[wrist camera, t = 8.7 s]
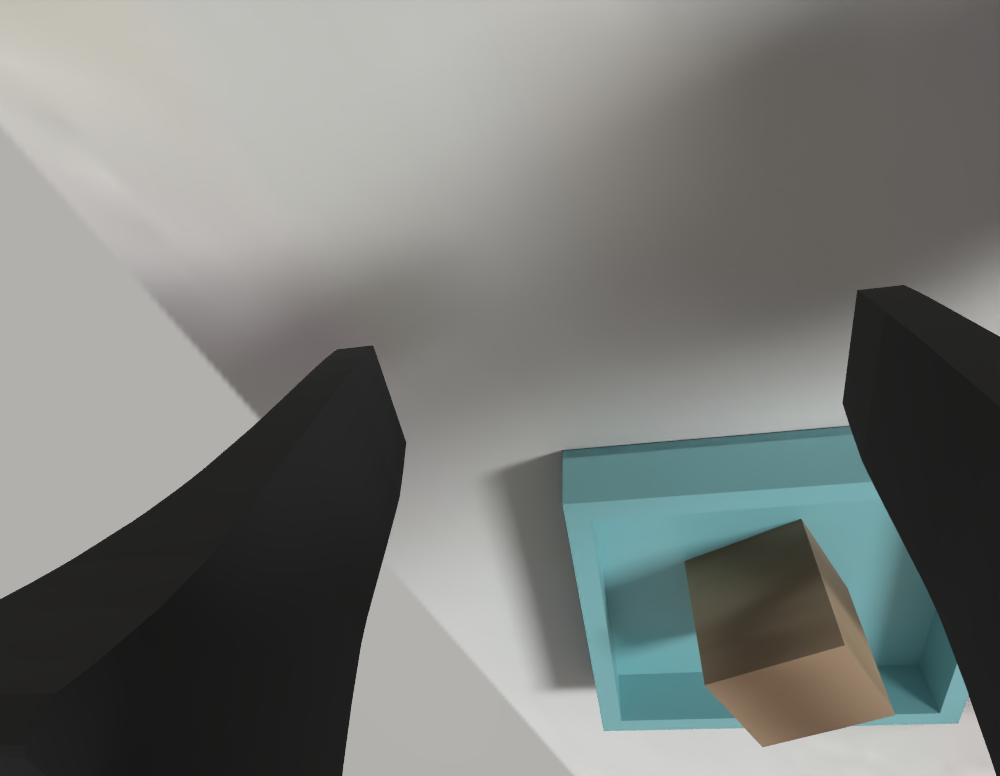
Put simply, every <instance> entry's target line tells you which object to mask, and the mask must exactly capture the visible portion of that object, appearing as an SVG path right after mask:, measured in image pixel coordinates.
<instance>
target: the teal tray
mask: <svg viewBox="0 0 1000 776" xmlns="http://www.w3.org/2000/svg"><path fill="white" fill-rule="evenodd" d="M562 505H563V511H564V516H565V522H566V527H567V533H568V538H569V543H570V549H571V554H572V560H573V565H574V571H575V576H576V582H577V587H578V593H579V598H580V604H581V609H582V615H583V620H584V625H585V631H586V636H587V642H588V647H589V653H590V658H591V664H592V669H593V675H594V680H595V686H596V691H597V697H598V702H599V708H600V713H601V718H602V724H603V729H604V731H628V730H674V729H721V728H744V727H743V726H742V725H741V723H740V722H739V721H738V720H737V719H736V718H735V717H734V716H733V715H732V714H731V713H730V712H729V711H728V710H727V709H726V708H725V706H724V705H723V704H722V703H721V702H720V701H719V700H718V699H717V698H716V697H715V696H714V695H713V694H712V693H711V692H710V691H709V689H708V688H707V687H706V686H705V685H704V679H703V672H702V666H701V660H700V654H699V648H698V642H697V636H696V630H695V624H694V617H693V611H692V605H691V599H690V593H689V587H688V581H687V575H686V569H685V562H684V561H686V560H689V559H692V558H695V557H697V556H700V555H703V554H706V553H708V552H711V551H714V550H717V549H719V548H722V547H725V546H728V545H730V544H733V543H736V542H739V541H741V540H744V539H747V538H750V537H752V536H755V535H758V534H761V533H763V532H766V531H769V530H772V529H774V528H777V527H780V526H783V525H785V524H788V523H791V522H794V521H796V520H799V519H802V520H803V522H804V523H805V525H806V526H807V528H808V529H809V531H810V532H811V534H812V535H813V537H814V538H815V540H816V541H817V543H818V544H819V546H820V547H821V549H822V550H823V552H824V553H825V555H826V556H827V558H828V559H829V561H830V562H831V564H832V565H833V567H834V568H835V570H836V571H837V573H838V574H839V576H840V578H841V579H842V581H843V582H844V584H845V585H846V587H847V588H848V591H849V593H850V596H851V599H852V601H853V604H854V607H855V609H856V612H857V615H858V617H859V620H860V623H861V625H862V628H863V631H864V633H865V636H866V639H867V641H868V644H869V647H870V649H871V652H872V655H873V657H874V660H875V663H876V665H877V668H878V671H879V674H880V676H881V679H882V682H883V684H884V687H885V690H886V692H887V695H888V698H889V700H890V703H891V706H892V708H893V711H894V714H895V716H890V717H886V718H882V719H878V720H874V721H870V722H865V723H861V724H857V725H853V726H862V725H908V724H955V723H958V722H959V720H960V717H961V714H962V712H963V709H964V707H965V704H966V701H967V699H968V696H969V694H968V692H967V689H966V686H965V683H964V680H963V678H962V675H961V672H960V670H959V667H958V665H957V662H956V659H955V657H954V654H953V651H952V649H951V646H950V643H949V641H948V638H947V635H946V633H945V630H944V627H943V625H942V622H941V620H940V617H939V615H938V613H937V611H936V608H935V606H934V604H933V602H932V600H931V597H930V595H929V593H928V591H927V589H926V587H925V585H924V583H923V581H922V579H921V577H920V575H919V573H918V571H917V569H916V567H915V565H914V563H913V561H912V559H911V557H910V555H909V553H908V551H907V550H906V548H905V546H904V544H903V542H902V540H901V538H900V536H899V534H898V532H897V530H896V528H895V526H894V524H893V522H892V520H891V518H890V516H889V514H888V512H887V510H886V509H885V507H884V505H883V503H882V501H881V499H880V497H879V495H878V493H877V491H876V489H875V487H874V485H873V483H872V481H871V479H870V477H869V475H868V473H867V471H866V468H865V466H864V464H863V462H862V460H861V457H860V454H859V451H858V449H857V446H856V443H855V440H854V437H853V434H852V431H851V428H850V426H848V427H836V428H825V429H813V430H801V431H789V432H777V433H766V434H754V435H742V436H730V437H719V438H707V439H695V440H683V441H672V442H660V443H648V444H636V445H625V446H613V447H601V448H589V449H578V450H566V451H563V465H562Z"/></svg>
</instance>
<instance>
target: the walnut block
mask: <svg viewBox="0 0 1000 776" xmlns="http://www.w3.org/2000/svg"><path fill="white" fill-rule="evenodd" d="M684 562H685V569H686V575H687V581H688V587H689V593H690V599H691V605H692V611H693V617H694V624H695V630H696V636H697V642H698V648H699V654H700V660H701V666H702V672H703V679H704V685H705V686H706V687H707V688H708V689H709V691H710V692H711V693H712V694H713V695H714V696H715V697H716V698H717V699H718V700H719V701H720V702H721V703H722V704H723V705H724V706H725V708H726V709H727V710H728V711H729V712H730V713H731V714H732V715H733V716H734V717H735V718H736V719H737V720H738V721H739V722H740V723H741V725H742V726H743V727H744V728H745V729H746V730H747V731H748V732H749V733H750V734H751V735H752V736H753V737H754V738H755V739H756V741H757V742H758V743H759V744H760V745H761V746H762V747H765V746H770V745H774V744H778V743H782V742H786V741H790V740H795V739H799V738H803V737H807V736H811V735H815V734H820V733H824V732H828V731H832V730H836V729H840V728H845V727H849V726H853V725H857V724H861V723H865V722H870V721H874V720H878V719H882V718H886V717H890V716H895V714H894V711H893V708H892V706H891V703H890V700H889V698H888V695H887V692H886V690H885V687H884V684H883V682H882V679H881V676H880V674H879V671H878V668H877V665H876V663H875V660H874V657H873V655H872V652H871V649H870V647H869V644H868V641H867V639H866V636H865V633H864V631H863V628H862V625H861V623H860V620H859V617H858V615H857V612H856V609H855V607H854V604H853V601H852V599H851V596H850V593H849V591H848V588H847V587H846V585H845V584H844V582H843V581H842V579H841V578H840V576H839V574H838V573H837V571H836V570H835V568H834V567H833V565H832V564H831V562H830V561H829V559H828V558H827V556H826V555H825V553H824V552H823V550H822V549H821V547H820V546H819V544H818V543H817V541H816V540H815V538H814V537H813V535H812V534H811V532H810V531H809V529H808V528H807V526H806V525H805V523H804V522H803V520H802V519H799V520H796V521H794V522H791V523H788V524H785V525H783V526H780V527H777V528H774V529H772V530H769V531H766V532H763V533H761V534H758V535H755V536H752V537H750V538H747V539H744V540H741V541H739V542H736V543H733V544H730V545H728V546H725V547H722V548H719V549H717V550H714V551H711V552H708V553H706V554H703V555H700V556H697V557H695V558H692V559H689V560H686V561H684Z"/></svg>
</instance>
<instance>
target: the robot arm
mask: <svg viewBox="0 0 1000 776" xmlns="http://www.w3.org/2000/svg"><path fill="white" fill-rule="evenodd" d="M843 406H844V409H845V412H846V415H847V418H848V422H849V425H850V428H851V431H852V434H853V437H854V440H855V443H856V446H857V449H858V451H859V454H860V457H861V460H862V462H863V464H864V466H865V468H866V471H867V473H868V475H869V477H870V479H871V481H872V483H873V485H874V487H875V489H876V491H877V493H878V495H879V497H880V499H881V501H882V503H883V505H884V507H885V509H886V510H887V512H888V514H889V516H890V518H891V520H892V522H893V524H894V526H895V528H896V530H897V532H898V534H899V536H900V538H901V540H902V542H903V544H904V546H905V548H906V550H907V551H908V553H909V555H910V557H911V559H912V561H913V563H914V565H915V567H916V569H917V571H918V573H919V575H920V577H921V579H922V581H923V583H924V585H925V587H926V589H927V591H928V593H929V595H930V597H931V600H932V602H933V604H934V606H935V608H936V611H937V613H938V615H939V617H940V620H941V622H942V625H943V627H944V630H945V633H946V635H947V638H948V641H949V643H950V646H951V649H952V651H953V654H954V657H955V659H956V662H957V665H958V667H959V670H960V672H961V675H962V678H963V680H964V683H965V686H966V689H967V692H968V694H969V697H970V700H971V703H972V706H973V709H974V711H975V714H976V717H977V720H978V723H979V726H980V729H981V731H982V734H983V737H984V740H985V743H986V746H987V749H988V751H989V754H990V757H991V760H992V763H993V766H994V770H995V773H996V776H1000V337H999V336H998V335H996V334H994V333H992V332H990V331H989V330H987V329H985V328H983V327H981V326H979V325H978V324H976V323H974V322H972V321H970V320H969V319H967V318H965V317H963V316H962V315H960V314H958V313H956V312H954V311H953V310H951V309H949V308H947V307H945V306H944V305H942V304H940V303H938V302H936V301H934V300H933V299H931V298H929V297H927V296H925V295H923V294H921V293H919V292H917V291H915V290H913V289H911V288H909V287H907V286H904V285H901V286H892V287H883V288H874V289H866V290H857V297H856V305H855V312H854V320H853V328H852V335H851V343H850V351H849V358H848V366H847V374H846V381H845V389H844V397H843ZM405 448H406V441H405V438H404V435H403V432H402V429H401V426H400V423H399V420H398V417H397V414H396V411H395V408H394V406H393V403H392V400H391V397H390V394H389V391H388V388H387V385H386V382H385V379H384V376H383V373H382V370H381V367H380V364H379V362H378V359H377V356H376V353H375V350H374V347H373V346H365V347H356V348H347V349H338V350H336V351H334V352H333V353H332V354H331V355H329V356H328V357H327V358H326V359H325V360H324V361H322V362H321V363H320V364H319V365H318V366H317V367H316V368H315V369H314V370H313V371H311V372H310V373H309V374H308V375H307V376H306V377H305V378H304V379H303V380H302V381H301V382H300V383H299V384H298V385H297V386H296V387H295V388H294V389H292V390H291V391H290V392H289V393H288V394H287V395H286V396H285V397H284V398H283V399H282V400H281V401H280V402H279V403H278V404H277V405H275V406H274V407H273V408H272V409H271V410H270V411H269V412H268V413H267V414H266V415H265V416H264V417H263V418H262V419H261V420H260V421H258V422H257V423H256V424H255V425H254V426H253V427H252V428H251V429H250V430H249V431H247V432H246V433H245V434H244V435H243V436H242V437H240V438H239V439H238V440H237V441H236V442H235V443H233V444H232V445H231V446H230V447H229V448H228V449H227V450H225V451H224V452H223V453H222V454H221V455H219V456H218V457H217V458H216V459H215V460H214V461H213V462H211V463H210V464H209V465H208V466H207V467H206V468H204V469H203V470H202V471H201V472H199V473H198V474H197V475H196V476H194V477H193V478H192V479H191V480H189V481H188V482H187V483H185V484H184V485H183V486H182V487H180V488H179V489H178V490H176V491H175V492H173V493H172V494H171V495H170V496H168V497H167V498H165V499H164V500H162V501H161V502H160V503H158V504H157V505H156V506H154V507H153V508H151V509H150V510H149V511H147V512H146V513H144V514H143V515H141V516H140V517H138V518H137V519H136V520H134V521H133V522H131V523H129V524H128V525H127V526H125V527H123V528H121V529H120V530H118V531H117V532H115V533H114V534H112V535H110V536H109V537H107V538H106V539H104V540H102V541H101V542H99V543H98V544H96V545H95V546H93V547H91V548H90V549H88V550H87V551H85V552H84V553H82V554H80V555H79V556H77V557H76V558H74V559H72V560H71V561H69V562H67V563H65V564H64V565H62V566H60V567H59V568H57V569H55V570H53V571H51V572H50V573H48V574H46V575H44V576H43V577H41V578H39V579H37V580H35V581H34V582H32V583H30V584H28V585H27V586H24V587H22V588H21V589H19V590H17V591H15V592H13V593H11V594H9V595H7V596H6V597H4V598H2V599H0V776H342V772H343V763H344V756H345V748H346V741H347V734H348V726H349V719H350V711H351V704H352V698H353V691H354V685H355V679H356V673H357V667H358V660H359V654H360V648H361V642H362V638H363V633H364V629H365V625H366V620H367V616H368V612H369V609H370V605H371V601H372V598H373V594H374V590H375V586H376V583H377V579H378V576H379V572H380V568H381V565H382V561H383V557H384V554H385V550H386V547H387V543H388V539H389V535H390V532H391V528H392V524H393V520H394V517H395V513H396V509H397V505H398V501H399V497H400V490H401V483H402V475H403V467H404V457H405Z"/></svg>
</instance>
